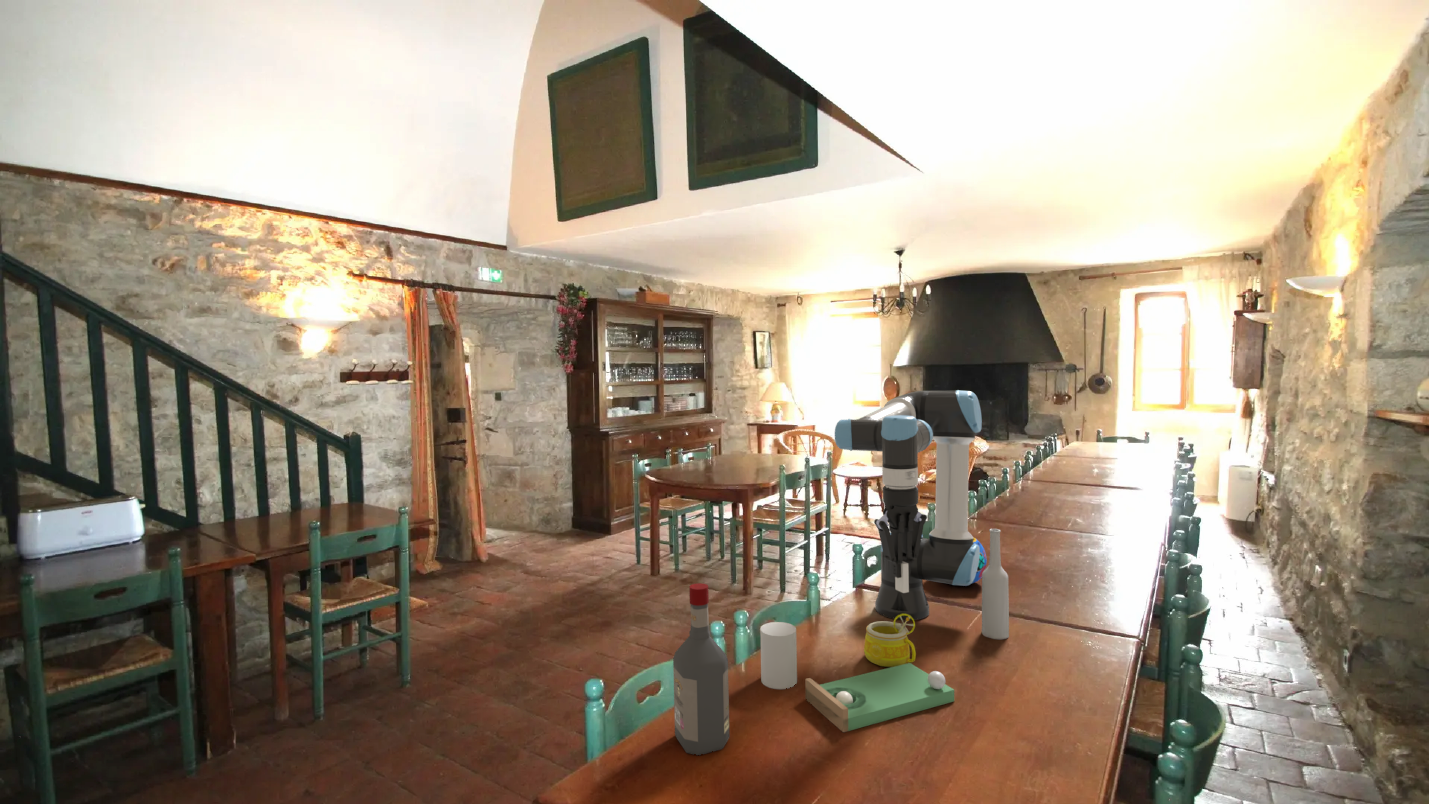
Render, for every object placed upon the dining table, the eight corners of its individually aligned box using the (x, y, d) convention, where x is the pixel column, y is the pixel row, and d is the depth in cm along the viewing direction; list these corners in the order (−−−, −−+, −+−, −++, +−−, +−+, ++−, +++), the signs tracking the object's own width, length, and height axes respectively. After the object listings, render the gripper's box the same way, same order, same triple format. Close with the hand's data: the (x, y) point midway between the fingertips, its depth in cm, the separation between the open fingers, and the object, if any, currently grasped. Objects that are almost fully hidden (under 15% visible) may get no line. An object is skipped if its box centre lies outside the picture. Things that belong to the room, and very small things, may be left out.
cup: (800, 674, 148) (799, 624, 147) (792, 691, 140) (792, 637, 140) (766, 670, 151) (765, 620, 150) (757, 686, 143) (756, 633, 142)
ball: (847, 702, 135) (840, 715, 132) (836, 688, 135) (829, 701, 132) (859, 699, 132) (852, 712, 130) (847, 685, 132) (840, 699, 130)
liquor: (688, 759, 116) (684, 597, 115) (671, 734, 124) (668, 583, 123) (733, 747, 120) (730, 589, 118) (714, 723, 128) (711, 576, 127)
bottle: (1002, 641, 164) (1001, 534, 163) (977, 634, 169) (976, 529, 168) (1013, 634, 168) (1013, 529, 167) (988, 627, 173) (988, 525, 172)
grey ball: (923, 686, 136) (923, 670, 136) (937, 683, 138) (937, 666, 137) (935, 694, 133) (935, 677, 133) (949, 690, 134) (949, 673, 134)
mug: (855, 661, 154) (854, 612, 154) (877, 647, 162) (877, 600, 162) (904, 677, 146) (904, 626, 145) (925, 661, 154) (925, 612, 153)
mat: (805, 699, 137) (805, 678, 136) (909, 673, 148) (909, 654, 147) (843, 732, 124) (842, 709, 124) (954, 701, 135) (954, 680, 134)
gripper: (887, 492, 134) (889, 601, 136) (935, 485, 139) (937, 591, 141) (865, 486, 141) (867, 590, 142) (912, 480, 146) (913, 580, 148)
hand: (902, 590), depth 142 cm, fingers closed
